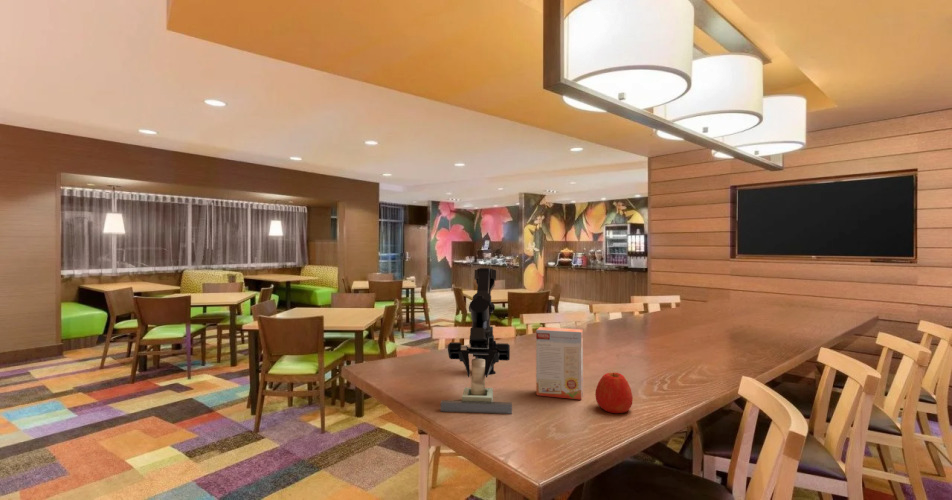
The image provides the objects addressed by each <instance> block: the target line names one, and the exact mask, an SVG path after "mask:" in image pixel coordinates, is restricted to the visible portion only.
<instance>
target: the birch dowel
mask: <svg viewBox="0 0 952 500" xmlns="http://www.w3.org/2000/svg"><path fill="white" fill-rule="evenodd" d="M470 375H471V376H470V381H471V382H470V383H471V384H470V388H471V395H476V396H485V388H486V374H485V359H479V358H476V359H475V358H472V359H471V372H470Z"/></svg>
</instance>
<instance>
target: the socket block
mask: <svg viewBox="0 0 952 500" xmlns="http://www.w3.org/2000/svg"><path fill="white" fill-rule="evenodd" d="M493 400H494V387H485V396H476V395H471V387H464V389H463V392H462V395H461V401H483V402H494V401H493Z"/></svg>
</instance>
